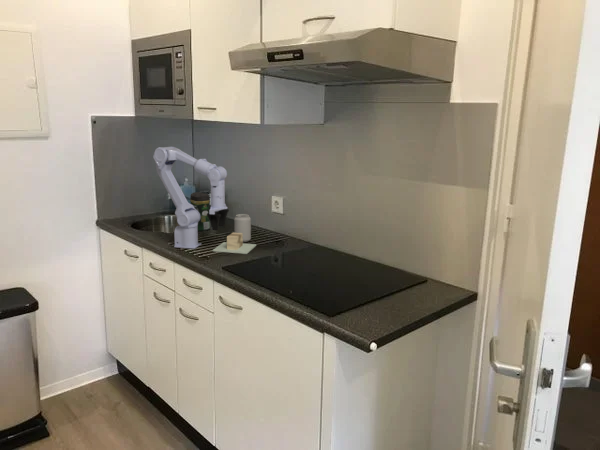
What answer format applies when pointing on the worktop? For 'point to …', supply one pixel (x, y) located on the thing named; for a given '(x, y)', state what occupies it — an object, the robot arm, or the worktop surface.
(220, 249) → the rubber mat
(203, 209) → the coffee jar
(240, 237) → the birch block
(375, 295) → the worktop surface
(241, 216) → the can
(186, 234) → the robot arm
